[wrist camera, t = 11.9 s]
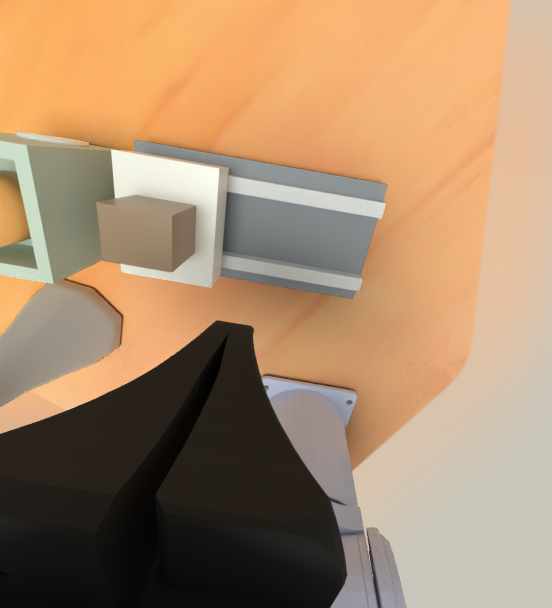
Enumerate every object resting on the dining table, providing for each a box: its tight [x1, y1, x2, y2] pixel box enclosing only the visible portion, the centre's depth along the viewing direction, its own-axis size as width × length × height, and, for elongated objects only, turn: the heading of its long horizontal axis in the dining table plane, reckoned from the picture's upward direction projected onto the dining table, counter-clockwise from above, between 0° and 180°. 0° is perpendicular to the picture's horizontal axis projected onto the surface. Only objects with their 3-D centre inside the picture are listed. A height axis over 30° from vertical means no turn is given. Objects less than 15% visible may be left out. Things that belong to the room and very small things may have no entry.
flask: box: [0, 280, 122, 407], centre depth 19 cm, size 7×7×10 cm
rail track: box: [134, 140, 388, 299], centre depth 18 cm, size 7×14×2 cm, turn 81°
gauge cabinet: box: [0, 131, 117, 284], centre depth 15 cm, size 6×5×8 cm
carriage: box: [96, 149, 229, 288], centre depth 14 cm, size 6×5×5 cm
